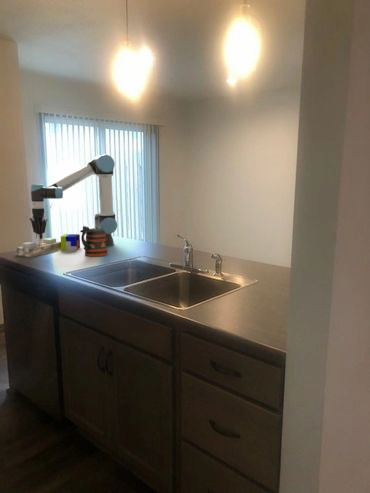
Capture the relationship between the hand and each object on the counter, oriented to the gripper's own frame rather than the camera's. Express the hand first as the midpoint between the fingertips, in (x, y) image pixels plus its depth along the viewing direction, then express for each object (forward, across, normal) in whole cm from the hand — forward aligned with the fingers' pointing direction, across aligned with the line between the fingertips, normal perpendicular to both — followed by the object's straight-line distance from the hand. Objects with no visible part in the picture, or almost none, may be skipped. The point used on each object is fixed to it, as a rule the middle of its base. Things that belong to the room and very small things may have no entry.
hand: (39, 243), depth 252 cm
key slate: (+2, 0, -9) cm, 9 cm away
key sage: (+2, 0, +9) cm, 9 cm away
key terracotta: (+4, 0, 0) cm, 4 cm away
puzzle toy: (+6, +12, +16) cm, 21 cm away
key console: (+6, 0, 0) cm, 6 cm away
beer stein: (+6, +37, +8) cm, 38 cm away
